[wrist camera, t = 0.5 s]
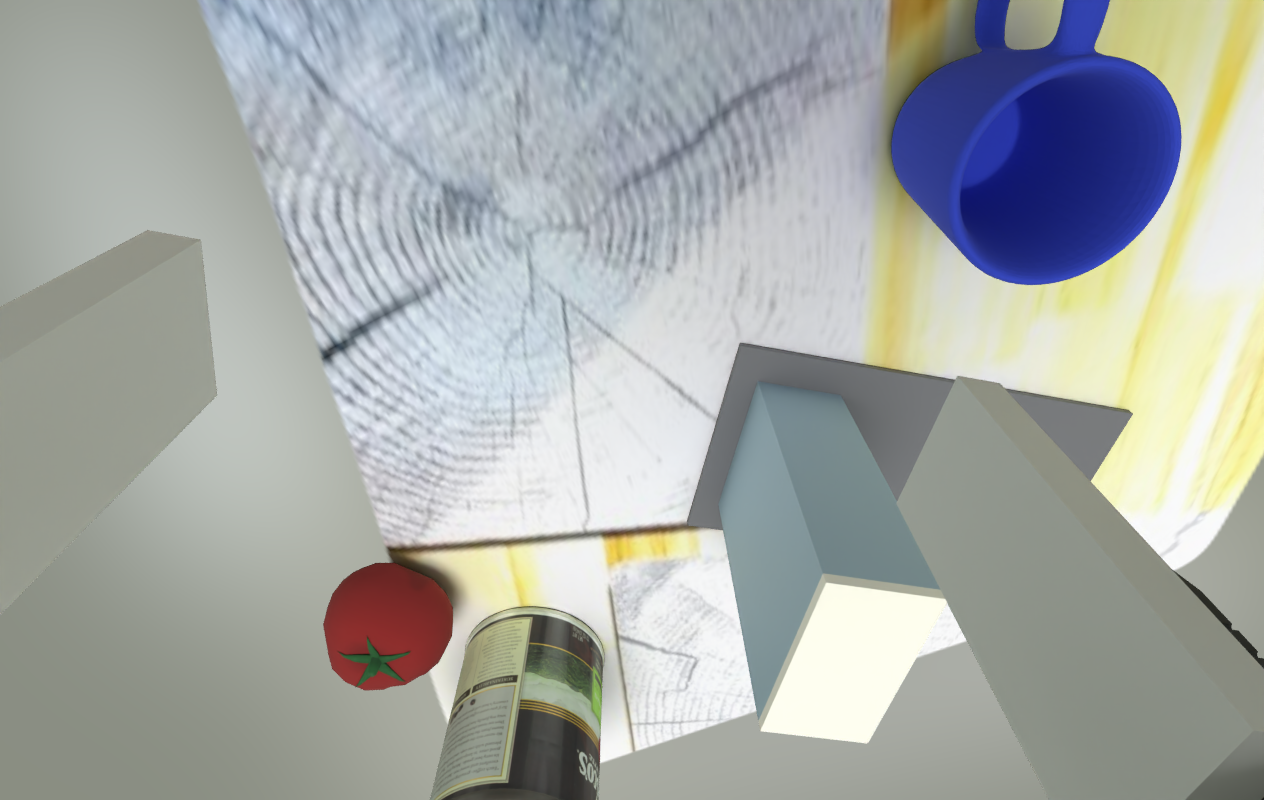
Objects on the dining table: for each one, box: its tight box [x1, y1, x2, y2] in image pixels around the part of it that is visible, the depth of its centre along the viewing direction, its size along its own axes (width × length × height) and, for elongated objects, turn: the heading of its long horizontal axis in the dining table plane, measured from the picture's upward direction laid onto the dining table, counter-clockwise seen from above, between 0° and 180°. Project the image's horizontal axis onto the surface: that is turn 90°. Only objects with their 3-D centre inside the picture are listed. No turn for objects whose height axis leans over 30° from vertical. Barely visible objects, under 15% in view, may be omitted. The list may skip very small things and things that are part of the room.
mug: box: [892, 0, 1181, 285], centre depth 30 cm, size 8×12×10 cm
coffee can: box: [430, 607, 604, 800], centre depth 47 cm, size 10×10×14 cm
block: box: [718, 381, 947, 743], centre depth 37 cm, size 5×9×16 cm, turn 169°
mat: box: [687, 343, 1133, 530], centre depth 45 cm, size 24×13×1 cm, turn 79°
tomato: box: [323, 563, 453, 690], centre depth 47 cm, size 8×8×7 cm
